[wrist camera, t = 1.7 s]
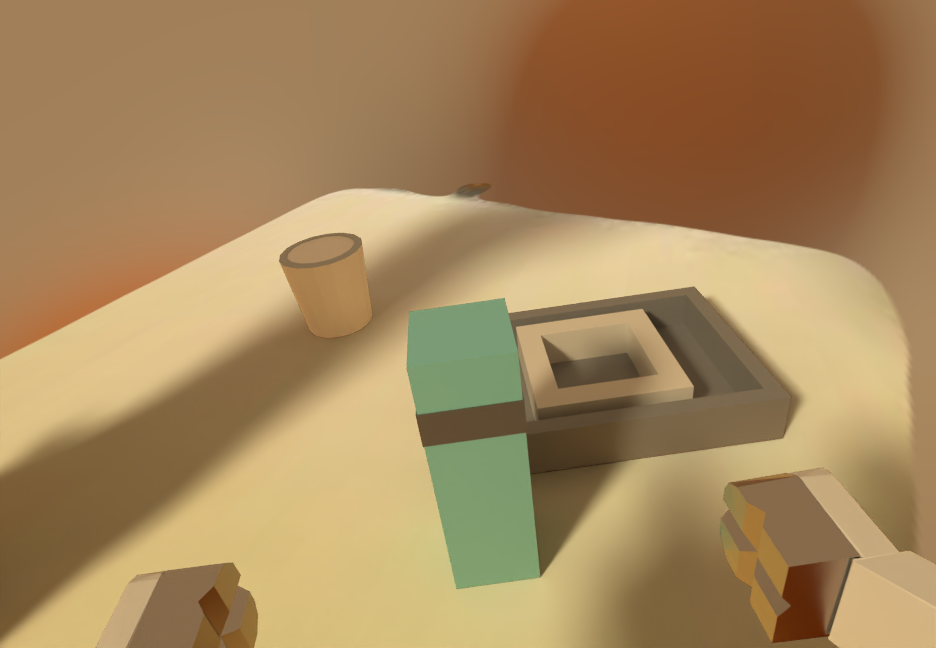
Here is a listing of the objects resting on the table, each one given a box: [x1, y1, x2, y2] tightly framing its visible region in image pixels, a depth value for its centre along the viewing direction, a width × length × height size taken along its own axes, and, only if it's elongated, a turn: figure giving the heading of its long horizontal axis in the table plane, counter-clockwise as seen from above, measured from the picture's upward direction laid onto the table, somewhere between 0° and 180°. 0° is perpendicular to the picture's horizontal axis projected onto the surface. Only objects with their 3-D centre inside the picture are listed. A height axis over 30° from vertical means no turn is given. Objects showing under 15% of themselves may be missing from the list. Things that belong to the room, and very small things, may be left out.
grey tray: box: [508, 287, 791, 474], centre depth 37 cm, size 18×13×3 cm
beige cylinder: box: [279, 233, 372, 338], centre depth 49 cm, size 7×7×7 cm
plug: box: [407, 298, 540, 589], centre depth 25 cm, size 4×4×13 cm
